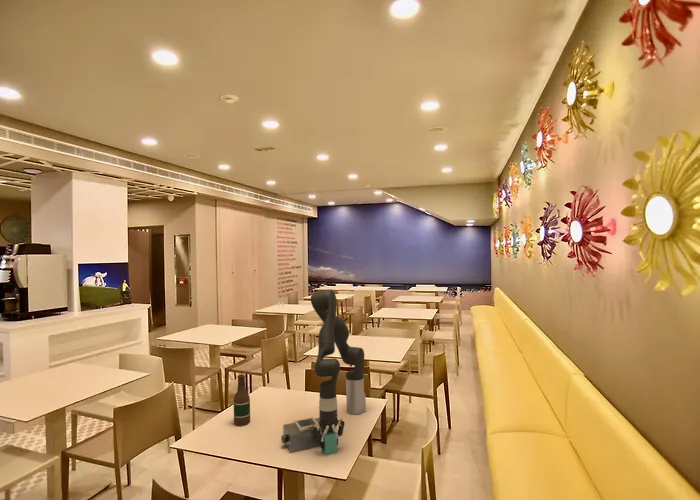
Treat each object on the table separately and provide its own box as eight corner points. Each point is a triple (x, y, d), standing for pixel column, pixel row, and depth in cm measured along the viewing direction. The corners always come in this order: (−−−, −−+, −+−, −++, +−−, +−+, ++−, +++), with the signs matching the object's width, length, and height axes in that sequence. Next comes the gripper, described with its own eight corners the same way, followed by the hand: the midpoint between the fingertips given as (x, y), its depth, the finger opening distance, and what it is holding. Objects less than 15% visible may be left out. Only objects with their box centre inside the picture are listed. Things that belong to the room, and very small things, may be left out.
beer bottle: (241, 428, 188) (240, 378, 189) (230, 425, 193) (229, 375, 193) (253, 422, 195) (252, 373, 196) (242, 419, 199) (241, 371, 200)
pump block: (332, 447, 168) (332, 428, 168) (337, 452, 163) (336, 433, 163) (321, 450, 166) (321, 430, 166) (325, 455, 161) (325, 435, 161)
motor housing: (321, 432, 182) (321, 414, 182) (330, 443, 171) (330, 424, 171) (279, 441, 174) (278, 422, 174) (285, 453, 163) (285, 433, 163)
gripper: (340, 401, 171) (341, 440, 171) (309, 407, 165) (310, 447, 165) (347, 407, 164) (348, 448, 164) (314, 413, 158) (315, 455, 158)
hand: (329, 447), depth 164 cm, fingers closed on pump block, 5 cm apart
